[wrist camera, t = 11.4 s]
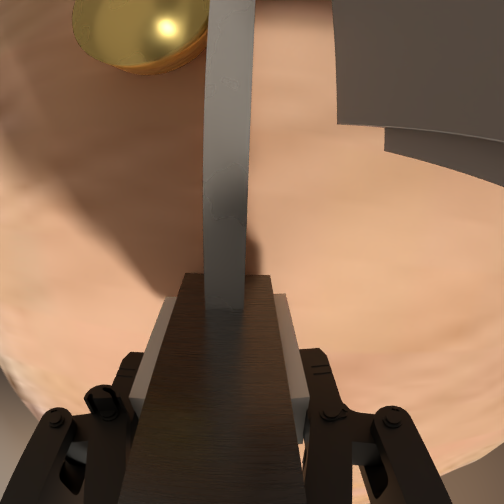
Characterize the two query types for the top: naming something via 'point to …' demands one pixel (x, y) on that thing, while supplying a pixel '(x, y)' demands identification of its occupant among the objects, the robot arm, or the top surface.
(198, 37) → the gold bowl
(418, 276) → the top surface
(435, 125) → the cabinet
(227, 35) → the grey l-shaped bracket
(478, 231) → the top surface
